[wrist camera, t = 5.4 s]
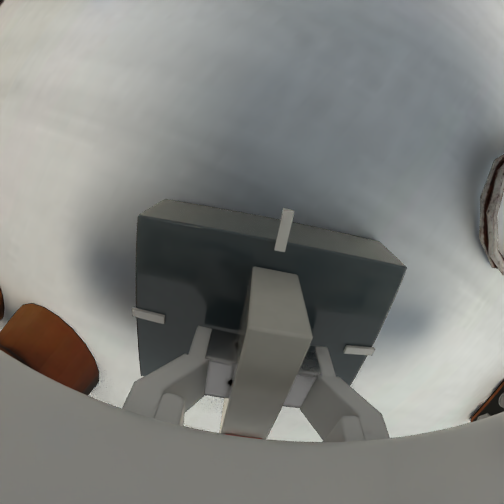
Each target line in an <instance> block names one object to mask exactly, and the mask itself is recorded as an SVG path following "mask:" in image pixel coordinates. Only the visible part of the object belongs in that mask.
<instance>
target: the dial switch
mask: <svg viewBox="0 0 504 504" xmlns="http://www.w3.org/2000/svg"><path fill="white" fill-rule="evenodd" d="M293 216H294V210H290V209H285V208H283V211H282V216H281V220H279V219H274V218H269V217H264V216H259V215H254V214H248V213H243V212H238V211H232V210H227V209H221V208H216V207H210V206H204V205H198V204H192V203H186V202H180V201H174V200H168V199H164V200H163V201H161V202H159V203H158V204H156V205H154V206H153V207H151V208H149V209H148V210H146V211H144V212H143V213H141V214H139V215H138V218H137V238H136V308H134V307H133V308H132V316H134V317H137V335H138V349H139V361H140V371H141V376H144V377H145V376H146V375H148V374H150V373H152V372H154V371H155V370H157V369H159V368H161V367H162V366H164V365H166V364H168V363H169V362H171V361H173V360H175V359H176V358H178V357H180V356H181V355H183V354H187V355H188V354H189V351H190V348H191V345H192V342H193V338H194V335H195V332H196V329H197V327H198V326H202V327H207V328H211V329H216V330H221V331H225V332H230V333H234V334H238V329H239V325H240V321H241V316H242V312H243V307H244V303H245V298H246V294H247V289H248V285H249V280H250V276H251V271H252V268H253V267H254V266H256V267H261V268H266V269H271V270H276V271H281V272H286V273H291V274H296V275H298V277H299V281H300V285H301V289H302V294H303V298H304V302H305V306H306V310H307V314H308V318H309V323H310V327H311V331H312V336H313V339H312V341H311V344H310V346H323V347H327V348H328V351H329V354H330V358H331V361H332V365H333V368H334V372H335V375H336V377H340V378H341V379H342V380H343V381H345V382H346V383H347V384H348V385H349V386H350V385H351V384H352V382H353V380H354V378H355V377H356V375H357V373H358V371H359V370H360V368H361V366H362V364H363V363H364V361H365V359H366V357H367V355H373V353H374V351H375V348H374V347H372V346H373V344H374V342H375V340H376V338H377V336H378V334H379V332H380V330H381V327H382V325H383V323H384V321H385V319H386V317H387V315H388V312H389V310H390V308H391V306H392V303H393V301H394V299H395V297H396V294H397V292H398V289H399V287H400V285H401V282H402V280H403V277H404V274H405V272H406V269H407V267H406V266H405V265H404V264H403V263H402V262H401V261H400V260H399V259H398V258H397V257H396V256H395V255H393V254H392V253H391V252H390V251H389V250H388V249H387V248H386V247H385V246H384V245H383V244H382V243H381V242H379V241H375V240H371V239H367V238H363V237H358V236H354V235H349V234H345V233H341V232H336V231H332V230H327V229H322V228H318V227H313V226H308V225H304V224H299V223H294V222H292V220H293Z"/></svg>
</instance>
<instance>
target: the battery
mask: <svg viewBox="0 0 504 504" xmlns="http://www.w3.org/2000/svg"><path fill="white" fill-rule="evenodd" d="M501 412H504V381H503V383H502V384H501V385H500V386H499V388H498V389H497V390H496V391H495V392H494V394H493V395H492V396H491V397H490V398H489V399H488V401H487V402H486V403H485V404H484V405H483V406H482V407H481V408H480V410H479V411H478V412H477V413H476V414H475V415H474V416H473V417H472V418H471V422H474V421H477V420H480V419H484V418H487V417H490V416H493V415H496V414H498V413H501Z"/></svg>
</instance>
